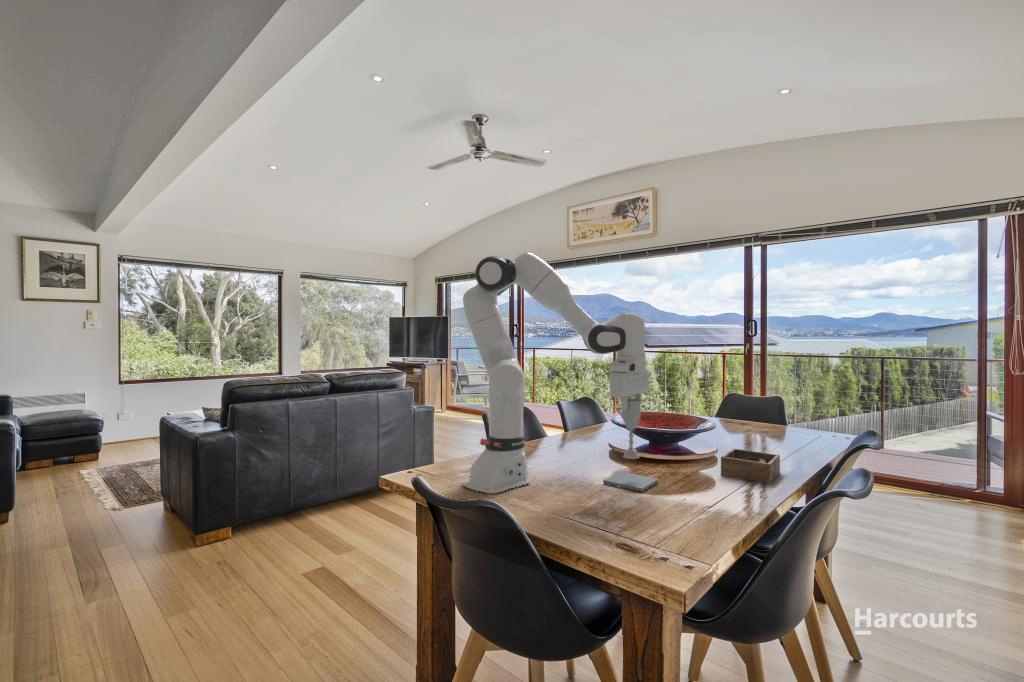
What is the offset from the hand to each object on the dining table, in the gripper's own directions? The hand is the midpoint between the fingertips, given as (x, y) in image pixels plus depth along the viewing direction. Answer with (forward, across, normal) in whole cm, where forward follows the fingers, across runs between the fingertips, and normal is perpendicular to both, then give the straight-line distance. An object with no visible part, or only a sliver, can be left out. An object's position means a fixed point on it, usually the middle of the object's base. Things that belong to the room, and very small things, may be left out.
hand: (630, 408), depth 152 cm
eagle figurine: (+24, -33, +28) cm, 49 cm away
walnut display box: (+24, -34, +26) cm, 49 cm away
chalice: (+15, 0, 0) cm, 15 cm away
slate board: (+24, 0, 0) cm, 24 cm away
